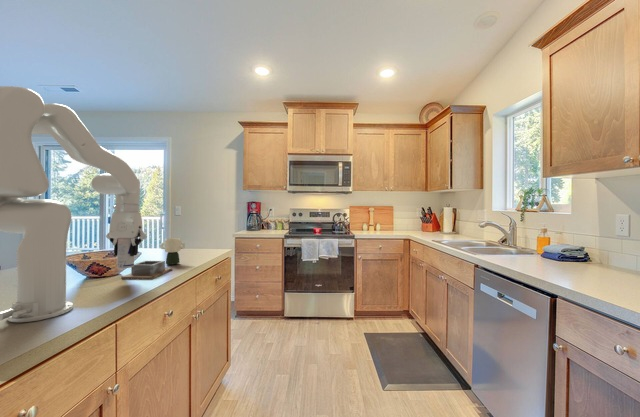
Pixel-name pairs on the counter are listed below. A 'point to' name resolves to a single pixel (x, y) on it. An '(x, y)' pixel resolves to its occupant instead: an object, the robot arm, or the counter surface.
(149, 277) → the can holder
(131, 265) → the energy drink
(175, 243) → the character mug
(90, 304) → the counter surface
